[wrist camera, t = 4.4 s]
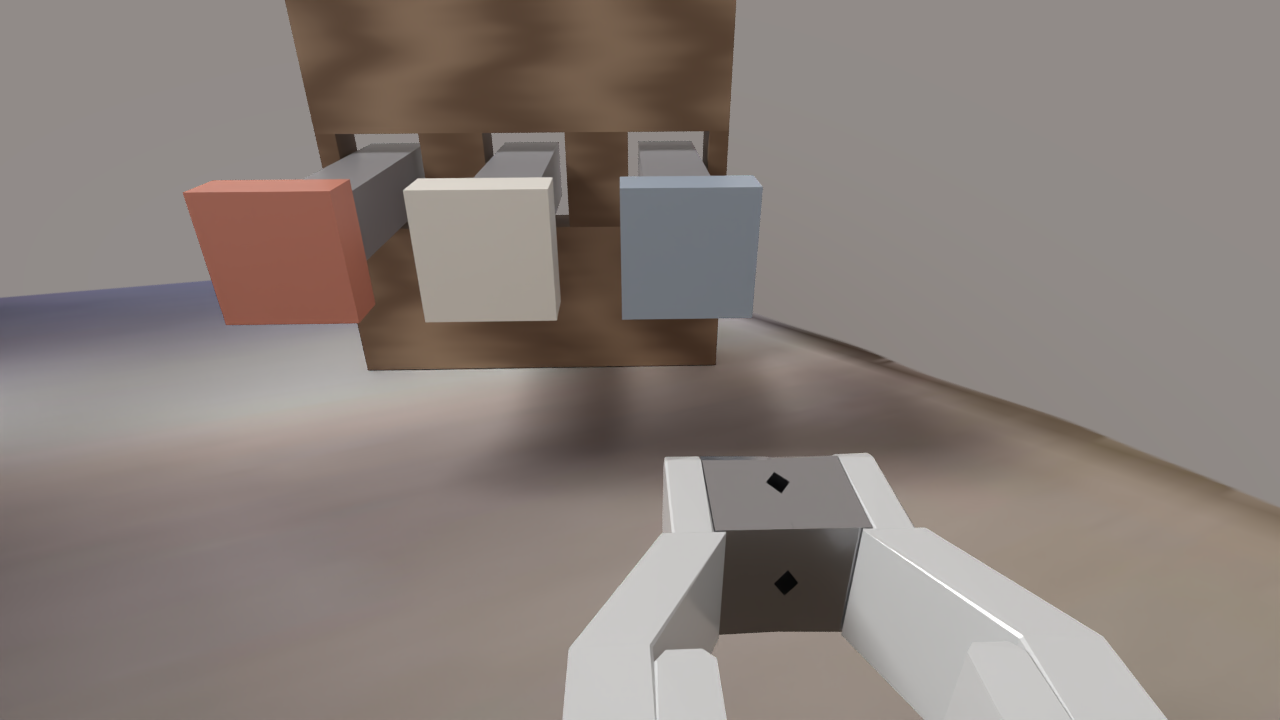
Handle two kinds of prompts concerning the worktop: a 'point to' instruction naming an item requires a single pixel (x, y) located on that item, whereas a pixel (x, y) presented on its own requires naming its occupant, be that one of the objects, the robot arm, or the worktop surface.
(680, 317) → the blue-capped grey rod
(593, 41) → the walnut panel
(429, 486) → the worktop surface
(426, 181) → the off-white plunger
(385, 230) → the brick-red plunger
